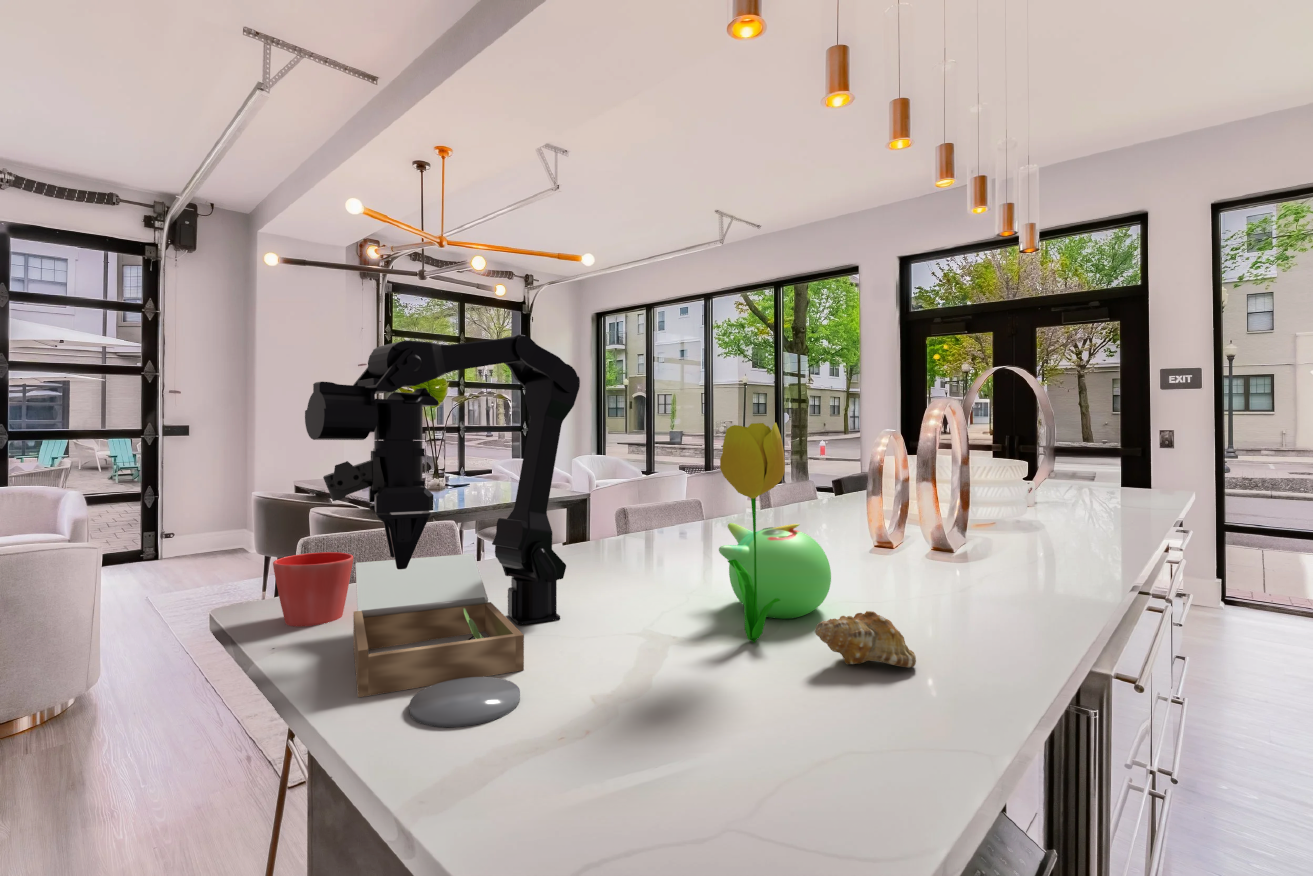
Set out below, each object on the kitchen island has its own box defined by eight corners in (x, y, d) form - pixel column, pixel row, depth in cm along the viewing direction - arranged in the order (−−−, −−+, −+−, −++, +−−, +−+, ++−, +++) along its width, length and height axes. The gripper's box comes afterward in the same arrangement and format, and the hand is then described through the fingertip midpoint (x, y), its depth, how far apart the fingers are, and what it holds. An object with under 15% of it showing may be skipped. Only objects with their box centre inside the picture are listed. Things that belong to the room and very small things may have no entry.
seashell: (887, 707, 71) (841, 631, 71) (839, 696, 78) (798, 627, 78) (933, 655, 75) (890, 583, 75) (883, 650, 82) (844, 584, 82)
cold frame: (490, 631, 92) (490, 596, 92) (523, 670, 76) (523, 628, 76) (353, 649, 84) (353, 611, 84) (358, 697, 68) (358, 650, 68)
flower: (792, 641, 87) (791, 422, 87) (778, 659, 80) (777, 420, 80) (732, 633, 91) (731, 423, 91) (713, 650, 83) (712, 422, 84)
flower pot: (320, 633, 91) (320, 565, 91) (255, 628, 93) (256, 562, 94) (368, 613, 102) (368, 553, 102) (308, 610, 104) (308, 551, 104)
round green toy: (837, 635, 90) (837, 531, 90) (718, 630, 92) (718, 529, 92) (825, 604, 107) (824, 517, 107) (725, 600, 110) (724, 515, 110)
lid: (473, 614, 101) (473, 553, 101) (488, 633, 91) (488, 565, 91) (355, 629, 93) (355, 562, 93) (357, 650, 83) (358, 576, 83)
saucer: (506, 677, 73) (506, 670, 73) (532, 713, 64) (532, 705, 64) (404, 694, 68) (404, 687, 68) (416, 736, 59) (416, 727, 59)
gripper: (328, 441, 86) (327, 556, 85) (326, 439, 69) (326, 583, 69) (415, 441, 91) (415, 550, 91) (434, 440, 74) (433, 573, 74)
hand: (398, 562), depth 81 cm, fingers open, 9 cm apart
